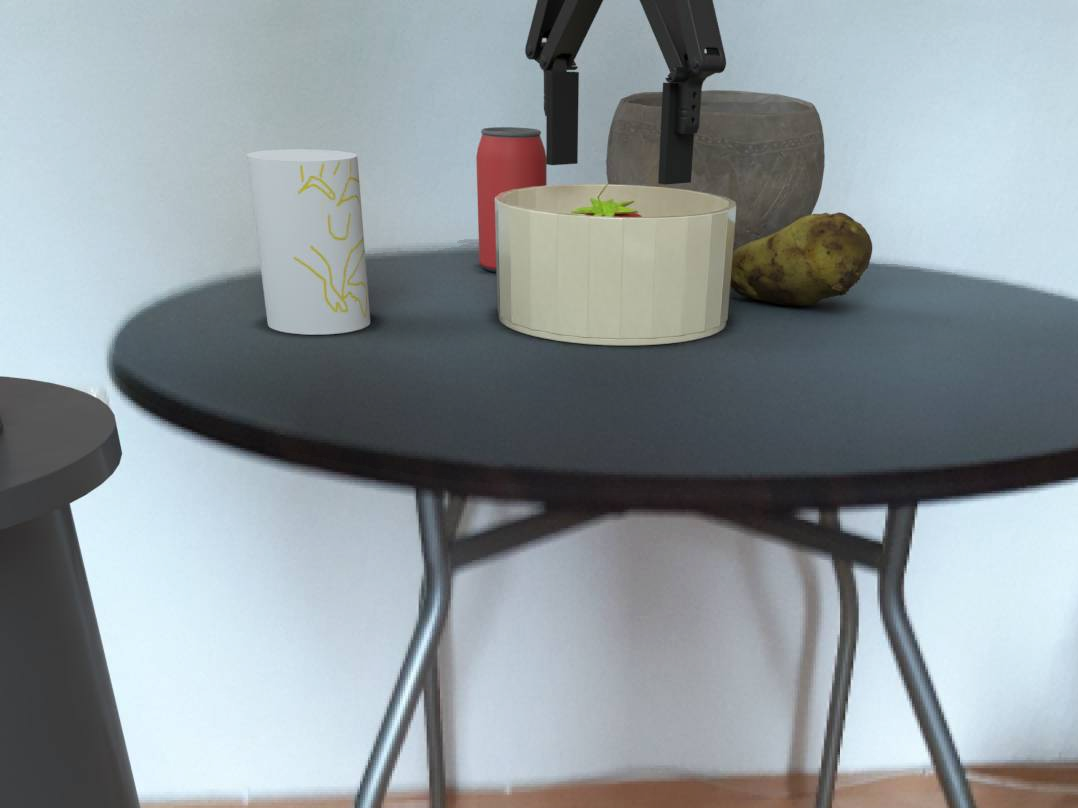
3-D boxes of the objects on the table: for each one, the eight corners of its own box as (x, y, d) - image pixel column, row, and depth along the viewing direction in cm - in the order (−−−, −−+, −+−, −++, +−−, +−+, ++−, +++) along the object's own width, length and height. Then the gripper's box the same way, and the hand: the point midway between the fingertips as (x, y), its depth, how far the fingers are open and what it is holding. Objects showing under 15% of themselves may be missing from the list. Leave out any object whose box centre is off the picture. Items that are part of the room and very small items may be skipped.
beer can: (466, 267, 117) (461, 128, 111) (518, 260, 121) (516, 125, 114) (507, 278, 113) (505, 134, 107) (560, 270, 117) (561, 131, 110)
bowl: (755, 298, 108) (772, 108, 100) (564, 270, 117) (565, 94, 109) (843, 265, 123) (864, 97, 115) (668, 242, 132) (676, 85, 124)
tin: (599, 357, 89) (602, 225, 84) (453, 311, 101) (448, 193, 96) (774, 325, 100) (786, 206, 95) (623, 286, 112) (626, 178, 107)
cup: (322, 339, 92) (304, 164, 85) (246, 324, 95) (223, 154, 88) (391, 320, 97) (379, 155, 91) (316, 307, 101) (300, 146, 94)
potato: (785, 290, 112) (794, 195, 107) (878, 318, 103) (893, 216, 98) (713, 298, 108) (720, 200, 103) (803, 328, 99) (815, 222, 94)
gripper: (797, -180, 77) (763, 188, 88) (556, -156, 92) (554, 155, 104) (715, -193, 73) (690, 195, 84) (477, -165, 88) (484, 159, 100)
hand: (615, 173), depth 94 cm, fingers open, 13 cm apart
